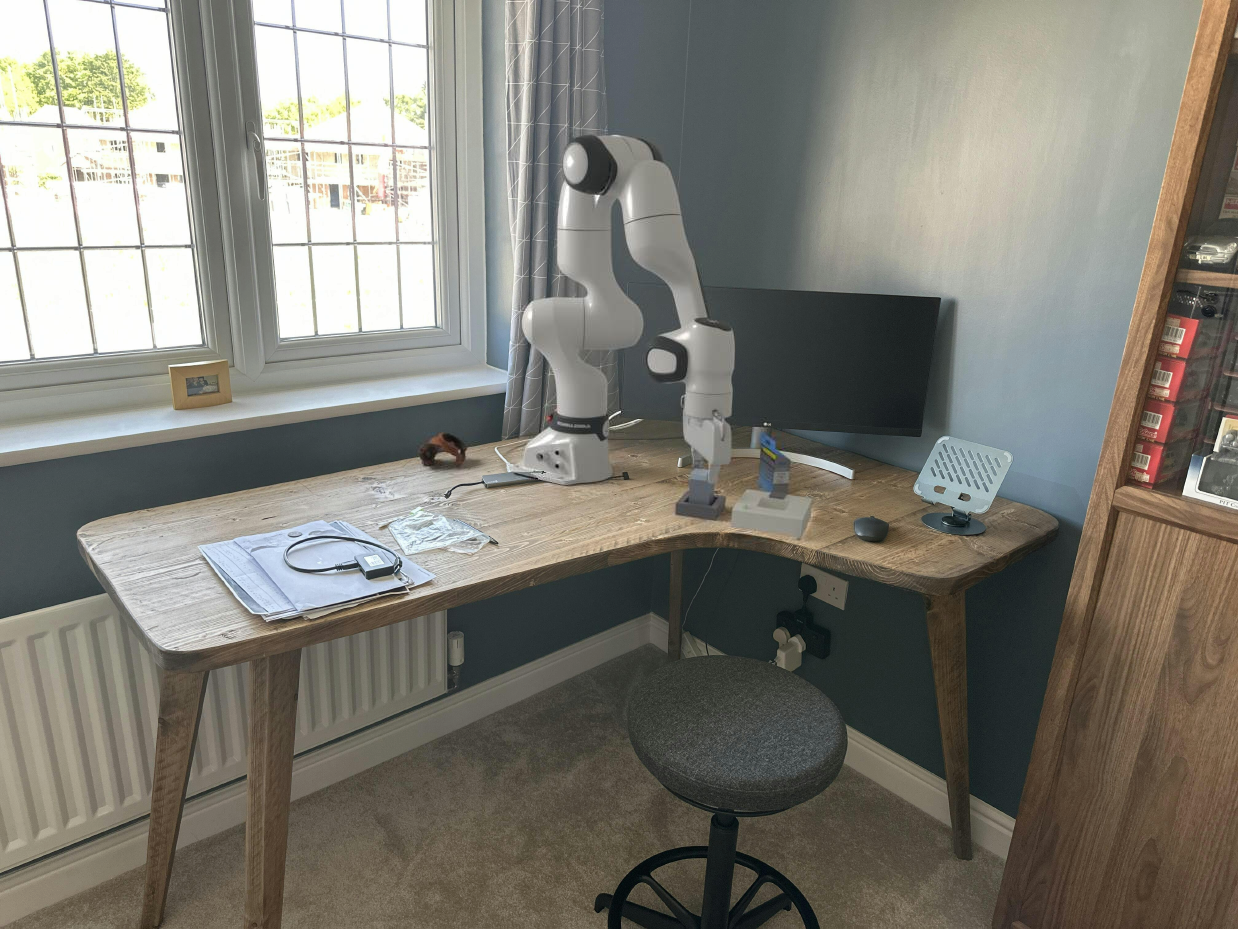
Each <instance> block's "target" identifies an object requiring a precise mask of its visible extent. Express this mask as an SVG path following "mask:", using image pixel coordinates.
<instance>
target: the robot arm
mask: <svg viewBox="0 0 1238 929" xmlns="http://www.w3.org/2000/svg"><path fill="white" fill-rule="evenodd" d="M560 168H561V173H562V176H563V179H564V181H563V183H562V186H561V190H560V195H559V200H558V201H559V202H558V211H557V231H556V233H557V236H556V238H557V242H556V243H557V245H556V248H557V249H556V250H557V253H556V256H557V259H556V261H557V267H558V268H559V270H560V272H561V273H562V274H563V275H565V276H566V277H568V278H569V279H571V280H573V281H575V282H577V283H579V284H581V285H582V286H583V287H584V288H586V291H587V295H586V296H584V297H563V296H562V297H558V296H553V297H552V296H551V297H546V298H545V297H544V298H540V299H535V300H532V301H530V302H529V304H528V305H527V306H526V307H525V309H524V312H523V314H522V316H521V317H522V318H521V329H522V332H523V334H524V337H525V339H526V340H527V342H528V343H530V345H531V346H533V348H536V350H538V351H539V352H540V353H541V354H542V355H543V357H545V359H546V361H547V362H548V364H549V366H550V368H551V370H552V372H553V375H554V376H553V377H554V380H555V381H554V382H555V389H556V390H555V391H556V408H555V409H554V411H553V412H551V413H549V415H547V416H546V417H545V418H546V420H545V421H546V422H549V426H548V427H547V428H545V429H544V430H543V431H541V432H539V434H537V435H536V436H535V437H534V438H532V439H531V440H529V441H528V442H527V444H526V445H525V448H524V451H523V456H522V457H523V458H522V459H521V460H518V461H517V462H516V463H515V464H514V465H513V467H512V473H513V472H533V471H534V470H535V471H544V472H546V473H543V474H541V473H531V474H533V475H535V476H536V477H537V478H538V479H537V480H541V481H544V482H549V483H553V484H558V485H562V486H572V485H576V484H583V483H584V484H585V483H586V484H587V483H593V482H595V483H596V482H600V481H604V480H607V479H609V478H611V477H612V476H613V474H614V471H613V468H612V464H611V460H610V458H611V457H610V454H609V453H610V451H609V442H608V438H609V432H610V415H609V412H608V385H609V384H608V379H607V377H606V375H605V373H604V372H602V370H600V369H598V368H597V367H595V366H593V365H591V364H589V363H588V362H587V363H586V362H585V361H583V360H582V359H581V358H580V356H579V353H580V351H583V350H587V351H588V350H591V351H593V350H594V351H596V350H597V351H599V350H600V351H601V350H602V351H614V350H621V349H626V348H630V347H634V346H635V345H636V344H638V341H639V340H640V339H641V336H642V334H643V330H644V317H643V313H642V311H641V309H640V307H639V306H638V305H637V304H636V303H635V302H634V301H633V300H631V299H630V298H629V297H628V296H627V295H626V293H624V291H623V290H622V288H621V287H620V286H619V284H618V281H617V280H616V277H615V273H614V271H613V265H612V251H611V250H612V249H611V247H612V246H611V245H612V244H611V242H612V240H611V236H612V235H611V233H612V231H611V230H612V227H611V224H612V220H611V219H612V216H611V215H612V208H613V205H614V204H615V201H616V200H617V199H618V201H619V202H620V206H621V209H622V218H623V221H622V222H623V226H624V233H625V234H624V235H625V240H626V241H625V242H626V244H627V248H628V251H629V254H630V256H631V257H632V259H633V260H634V261H635V262H636V263H637V264H638V265H639V266H641V267H642V268H643V269H644V270H647V271H649V272H651V273H653V274H654V275H656V276H657V277H659V278H661V280H663V281H664V282H665V283H666V284H667V285H668V287H669V288H670V291H671V292H672V296H673V298H674V302H675V303H674V304H675V308H676V312H677V316H678V319H679V323H680V328H678V329H676V330H673V331H669V332H665V333H662V334H658V335H656V336H653V337H652V338H650V339H649V341H648V342H647V343H646V345H645V348H644V350H643V351H644V352H643V357H642V358H643V365H644V369H645V371H646V373H647V375H648V377H650V378H651V379H652V380H653V381H654V382H657V383H662V384H673V383H675V384H676V383H684V384H685V394H683V395H682V396H681V397H680V406H681V408H683V410H682V431H683V437H684V441H685V443H687V444H688V445H689V446H690V449H691V456H692V468H693V470H694V469H695V468H698V469H704V464H705V463H704V462H705V461H704V459H705V460H706V461H707V462H708V469H707V470H708V473H707V478H706V480H707V481H708V482H709V483H710V484H713V483H715V484H717V483H718V481H719V474H720V470H721V469H722V466H728V465H729V464H730V462H731V460H732V429H731V425H730V424H729V423H728V422H727V421H726V418H730V417H731V416H732V409H733V408H732V406H733V392H734V390H733V389H734V387H733V385H732V384H733V383H732V375H733V372H734V370H735V353H736V350H735V349H736V346H735V336H734V331H733V328H732V327H731V325H729V324H728V323H727V322H726V321H723V320H720V319H718V318H713V317H712V318H711V313H710V309H709V305H708V300H707V296H706V292H705V288H704V285H703V281H702V277H701V273H700V268H699V267H698V263H697V260H696V258H695V256H694V254H693V252H692V250H691V249H690V246H689V242H688V239H687V236H686V231H685V228H684V223H683V217H682V211H681V206H680V205H681V204H680V200H679V197H678V196H679V195H678V191H677V188H676V185H675V182H674V179H673V178H674V177H673V176H672V173H671V170H670V169H669V167H668V166H667V165H666V164H665V163H664V158H663V156H662V154H661V151H660V149H659V148H658V147H657V146H656V145H655V144H653V143H651V142H650V141H648V140H646V139H643V138H639V137H638V138H633V137H629V136H624V135H619V134H613V135H594V134H584V135H580V136H576V137H574V138H572V139H571V140H570V141H568V142H567V144H566V145H565V147H564V149H563V152H562V155H561V167H560Z"/></svg>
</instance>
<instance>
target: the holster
mask: <svg viewBox="0 0 1238 929" xmlns="http://www.w3.org/2000/svg"><path fill="white" fill-rule="evenodd" d="M726 500H727V496H726V495H719V494H714V501H713V505H712V506H709V505H702V504H695V503H689V490H687V491H685V493H684V494H682V496H681V497H679V499H678V500H677V501H676V502H675V511H674V512H675V514H674V515H675V516H681V517H682V516H683V517H687V518H688V517H689V518H695V519H702V520H707V521H708V520H709V521H714V522H715V521H717V519H718V518H719V517H720V515H721V514H722V512H723V511H724V510H725V508H726V504H727V503H726Z"/></svg>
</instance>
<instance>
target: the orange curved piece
mask: <svg viewBox="0 0 1238 929" xmlns="http://www.w3.org/2000/svg"><path fill="white" fill-rule="evenodd" d="M451 443H453V444H454V445H452V444H451ZM439 449H440V450H441V451H443V452H445V453H447V454H450V455H451V456H454V457H455V458H456V459H455V461H454V462H455V463H454V467H455V468H460V467H461V465H462V463H463V462H465V460H466V451H467V450H468V446H467V445H466V443H465V442H464V441H463V440H461V439H460V438H459V437H457V436H456V435H453V434H451V433H447V432H440V433H439V434H438V435H437V436H435V437H433V438H431V439H430V440H429V441H428V442H427V443H424V444H422V445H420V447H419V449H418V457H419V459H420V460H421V464H423V465H425V466H426V465H427V466H433V464H434V460H435V458H436V456H437V454H438V453H439ZM423 465H422V466H423ZM459 466H460V467H459Z"/></svg>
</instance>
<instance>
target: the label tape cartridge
mask: <svg viewBox="0 0 1238 929" xmlns="http://www.w3.org/2000/svg"><path fill="white" fill-rule="evenodd" d="M760 432H761V434H760V435H761V436H760V437H761V438H760V452H759V454H760V455H759V465H758V478H757V479H758V480H757V486H758V487H760V488H762V489H763V490H764V491H765V492H770V493H771V492H772V491H776V492H783V493H786V495H789V494H788V493H789V492H788V491H789V480H790V470H791V462H792V461H791V459H790V458H789V457H788V456H786V455H785V454H784V453H782V452H781V451H780V450H778V449H777V448H776V443H777V441H775V440H774V439H773V438H772V437H770V436H769V435H768V434H766V433H765V432H764V431H760ZM767 442H768V443H767Z"/></svg>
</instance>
